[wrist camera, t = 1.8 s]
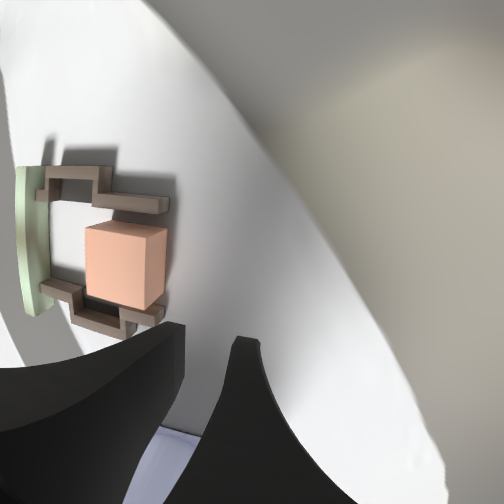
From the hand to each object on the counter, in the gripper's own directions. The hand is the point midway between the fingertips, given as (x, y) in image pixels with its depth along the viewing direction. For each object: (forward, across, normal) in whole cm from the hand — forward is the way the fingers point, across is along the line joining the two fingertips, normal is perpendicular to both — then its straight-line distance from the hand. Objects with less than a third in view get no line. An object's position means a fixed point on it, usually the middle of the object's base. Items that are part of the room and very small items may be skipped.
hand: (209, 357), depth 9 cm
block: (+9, +7, 0) cm, 11 cm away
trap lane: (+8, +10, 0) cm, 13 cm away
